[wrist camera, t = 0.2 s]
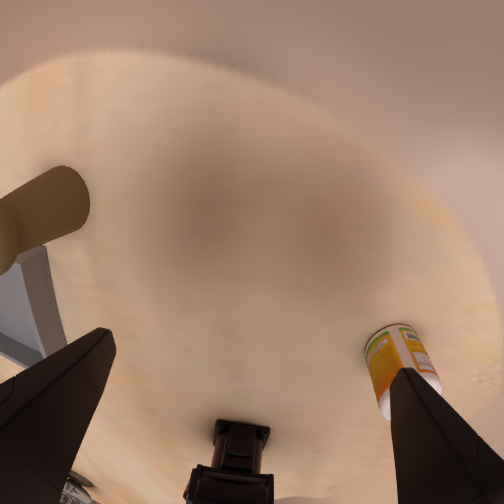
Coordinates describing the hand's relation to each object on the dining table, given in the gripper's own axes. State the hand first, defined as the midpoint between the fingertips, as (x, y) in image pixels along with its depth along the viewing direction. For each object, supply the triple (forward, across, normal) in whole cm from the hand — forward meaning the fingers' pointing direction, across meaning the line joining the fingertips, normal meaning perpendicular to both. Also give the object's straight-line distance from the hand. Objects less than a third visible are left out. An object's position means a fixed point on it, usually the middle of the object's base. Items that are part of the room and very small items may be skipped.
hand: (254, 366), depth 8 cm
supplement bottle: (+14, -13, +11) cm, 22 cm away
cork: (+14, +18, +1) cm, 23 cm away
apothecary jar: (+11, +43, +80) cm, 91 cm away
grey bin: (+14, +29, +13) cm, 35 cm away
